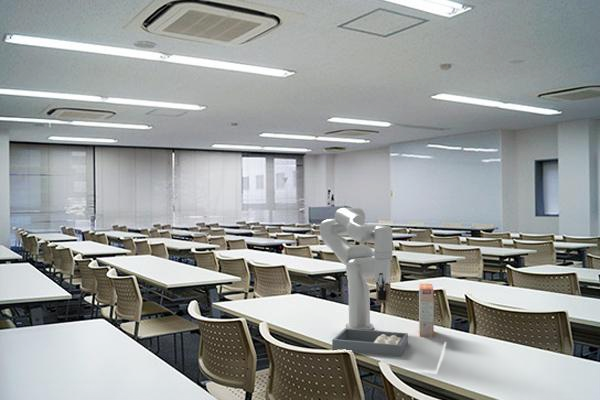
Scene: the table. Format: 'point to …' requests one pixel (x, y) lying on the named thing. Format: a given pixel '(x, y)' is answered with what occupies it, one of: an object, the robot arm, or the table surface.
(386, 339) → the egg carton
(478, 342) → the table surface
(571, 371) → the table surface
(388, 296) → the walnut block
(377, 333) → the tray
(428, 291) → the cracker box
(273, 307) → the table surface
